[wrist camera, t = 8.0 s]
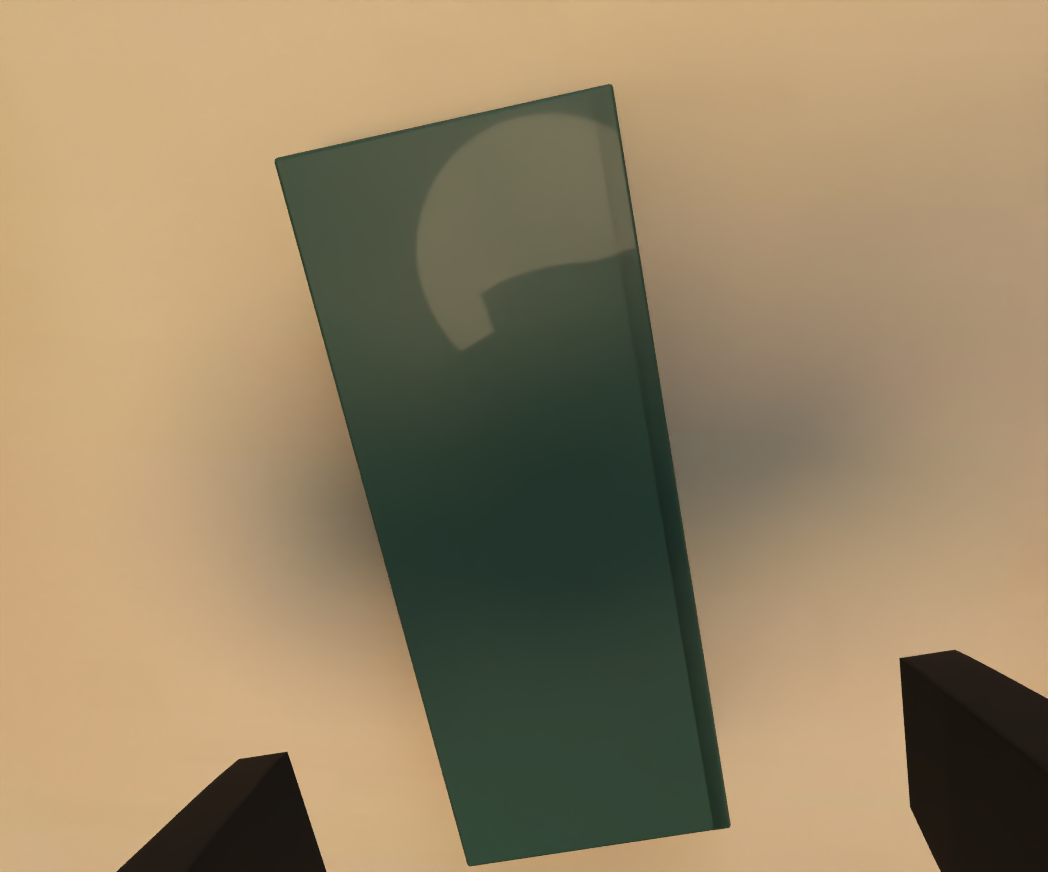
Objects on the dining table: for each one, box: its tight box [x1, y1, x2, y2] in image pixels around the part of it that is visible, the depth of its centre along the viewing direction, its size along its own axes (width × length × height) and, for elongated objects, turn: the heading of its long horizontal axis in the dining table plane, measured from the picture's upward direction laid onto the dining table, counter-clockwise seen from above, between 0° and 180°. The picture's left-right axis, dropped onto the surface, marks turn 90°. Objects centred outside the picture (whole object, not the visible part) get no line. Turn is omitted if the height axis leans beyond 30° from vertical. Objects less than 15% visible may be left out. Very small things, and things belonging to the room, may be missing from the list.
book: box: [275, 84, 731, 866], centre depth 16 cm, size 14×5×3 cm, turn 12°
